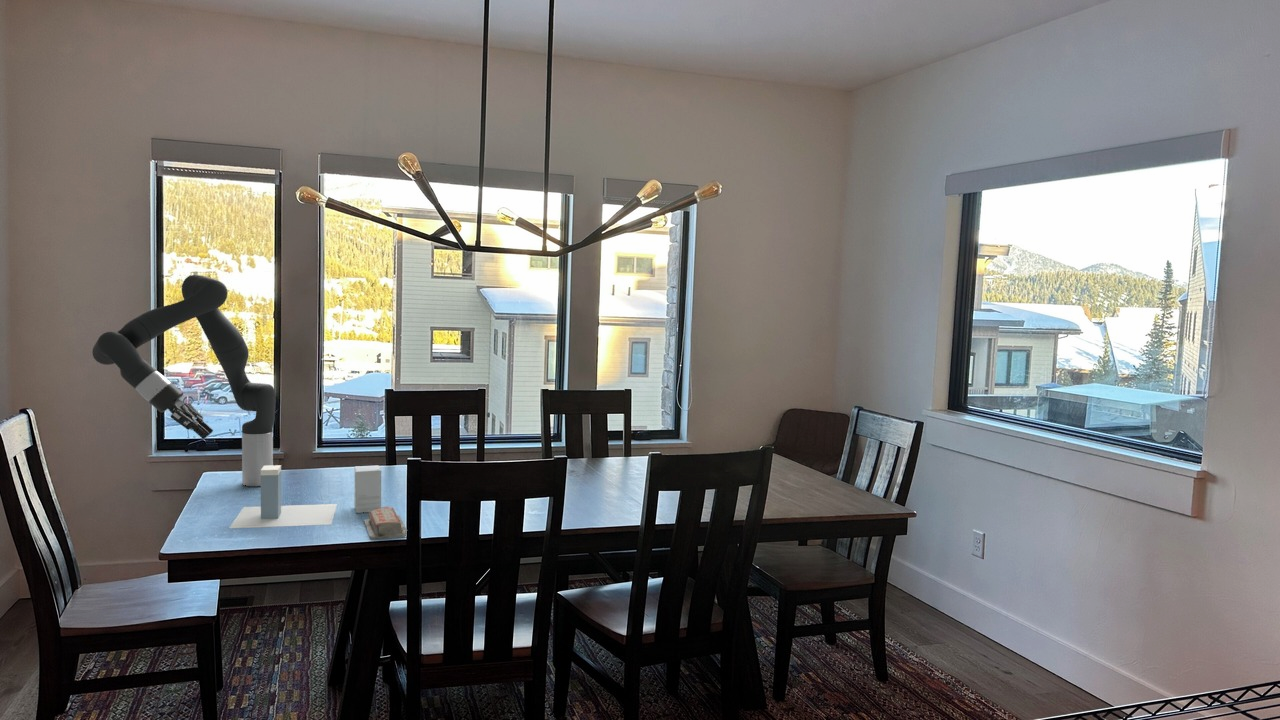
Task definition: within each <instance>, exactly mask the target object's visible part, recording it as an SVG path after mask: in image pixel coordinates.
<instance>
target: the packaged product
mask: <svg viewBox="0 0 1280 720" xmlns="http://www.w3.org/2000/svg"><path fill="white" fill-rule="evenodd" d="M363 521H365V522H364V525H365V527H366V532H367V534H368V537H369V538H370V540H371V541H373V540H381V539H382V540H384V539H395V538H397V539H398V538H406V537H405V536H406V529H407V528H406V525H405V523H404V521H403V519H402V516H401V515H400V514H397V512H395V509H394V507H390V506H388V505H386V506H383V507H382V506H381V508H379V509H376V510H373V511H371V512H368V518H367V519H365V518H364V519H363Z"/></svg>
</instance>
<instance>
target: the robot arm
mask: <svg viewBox="0 0 1280 720" xmlns="http://www.w3.org/2000/svg"><path fill="white" fill-rule="evenodd" d="M181 294H182V298H183V299H182V300H180V301H177V302H174V303H171V304H167V305H164V306H160V307H157V308H154V309H150V310H148V311H146V312H144V313H142V314H140V315H138V316H137V317H135V318H133V319H131V320H130V321H128V322H126V324H124V325H123V327H121V329H119V330H118V331H117V332H116V331H106V332H104V333H102V334H100V336H99V337H98V339H97V341H96V342H95V344H94V346H93V347H92V353H91V354H92V357H93V359H94V360H95V361H96V362H97V363H99V364H101V365H113V364H114V365H116V366H117V368H119V371H120V376H121V378H122V379H124V381H126V382H127V383H128V384H129V385H130V386H131V387H132V388H133V389H135V390H136V391H137V393H138V394H139V395H140V396H141V397H142V398H143V399H145V400H146V401H147V402H148V403H149V404H150V405H151V406H153V407H154V408H155V409H156V410H157V411H158V412H160V414H161V413H165V412H166V411H169V412H170V413H171V415H170V419H172V420H174V421H175V422H177V423H178V424H179V425H181V426H182V427H184V428H185V429H186V430H190V431H193V432H194V433H196V435H197V436H199V437H200V438H201V439H203V440H205V439H206V438H207V437H209V435H211V434H213V432H214V429H213V428H212V427H210V425H208V424H207V423H206V422H205V421H204V417H203V415H201V414H200V413H199V412H198V410H197V409H196V408H195V407H194V406H193V405H192V404H191V403H189V402H188V403H186V402H183V401H182V400H180V399H181V398H182V397H183V395H184V392H183V391H182V390H181V389H180V388H178V387H177V386H176V385H175V384H173V383H172V381H170V379H168V378H167V377H166V376H165V375H164V374H162V373H161V372H159V371H158V370H156V369H155V368H154V366H152V365H151V364H150V363H149V362H147V361H146V360H145V359H144V357H142V355H141V353H140V352H139V351H138V350H137V349H138V348H140V347H141V346H143V345H145V344H146V343H149V342H150V341H152V340H154V339H156V338H158V336H160V335H162V334H163V333H165V332H167V331H168V330H170V329H172V328H174V327H176V326H178V325H180V324H183V323H185V322H187V321H190V320H192V319H194V318H196V320H197V321H198V323H199V324H200V327H201V329H202V331H203V332H204V335H205V336H206V339H207V341H208V342H209V344H210V347H211V349H212V351H213V353H214V355H215V357H216V359H217V360H218V362H219V364H220V367H222V370H223V372H224V374H225V377H226V380H227V382H228V383H229V386H230V389H231V393H232V395H233V397H234V401H235V403H236V404H237V406H238V407H239V408H240V409H241V410H243V411H247V412H255V418H254V419H252V420H249V421H246V422H244V423H242V426H241V449H242V450H241V459H242V461H241V470H242V471H241V472H242V473H241V475H242V476H241V480H242V481H241V482H242V486H245V485H246V487H261V469H262V468H263V466H266V465H274V457H273V456H274V434H273V432H274V430H273V429H274V425H275V419H276V417H275V416H276V404H277V403H276V402H277V401H276V399H277V398H276V390H275V388H274V387H273V385H271V384H269V383H261V382H258V383H257V382H252V381H250V379H249V377H248V376H247V374H246V370H245V369H246V366H247V362H248V360H249V348H248V346H247V343H246V341H245V339H244V337H243V336H242V333H241V332H240V331H239V330H238V329H237V327H236V326H235V325H234V323H232V322H231V320H229V319H228V318H227V317H226V316H225V315H224V314H223V313H222V311H221V310H220V307H221V306H223V305H224V304H225V302H226V300H227V298H228V288H227V287H226V285H225V283H223V282H222V281H221V280H218V279H216V278H211V277H209V276H204V275H200V274H192V275H189V276H186V278H185V279H184V280H183V282H182V284H181Z"/></svg>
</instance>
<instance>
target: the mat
mask: <svg viewBox="0 0 1280 720" xmlns="http://www.w3.org/2000/svg"><path fill="white" fill-rule="evenodd" d="M337 505H338V503H329V504H328V503H326V504H323V503H322V504H320V503H319V504H295V505H281V514H280V516H279V518H278V519H261V505H260V506H243V508H242V509H241V510H240V511H239V514H237V516H236V517H235V519H234V520H233V522H232V523H231V525H230V526H229V527H228V529H248V528H250V529H252V528H253V529H255V528H275V527H277V528H279V527H301V526H302V527H303V526H304V527H305V526H328V525H330V526H331V525H332V524H333V523H332V522H333V520H334V516H335V514H336V510H337Z"/></svg>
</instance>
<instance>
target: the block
mask: <svg viewBox="0 0 1280 720" xmlns="http://www.w3.org/2000/svg"><path fill="white" fill-rule="evenodd" d="M260 506H261V519H278V518H279V516H280V514H281V506H282V464H281V465H280V464H279V465H278V464H275V465H274V464H273V465H266V466H263V468H262V469H261V486H260Z"/></svg>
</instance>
